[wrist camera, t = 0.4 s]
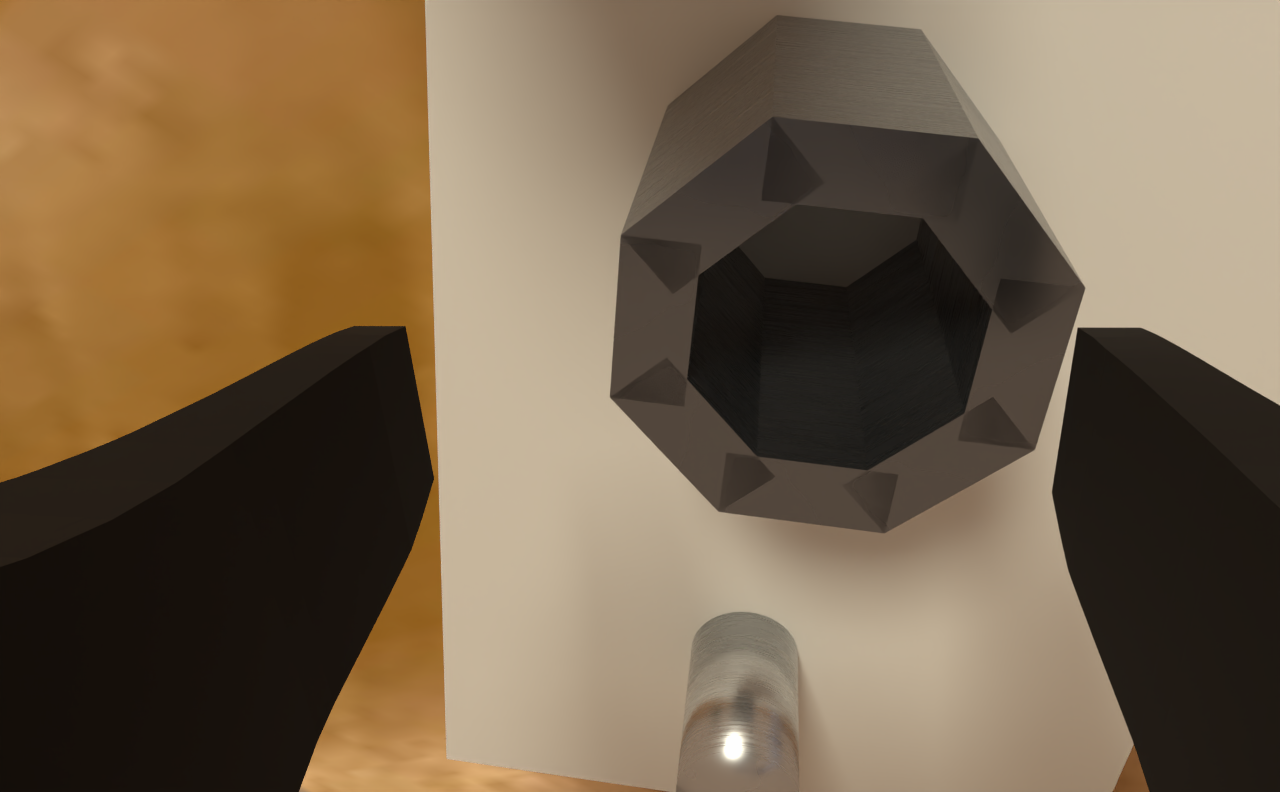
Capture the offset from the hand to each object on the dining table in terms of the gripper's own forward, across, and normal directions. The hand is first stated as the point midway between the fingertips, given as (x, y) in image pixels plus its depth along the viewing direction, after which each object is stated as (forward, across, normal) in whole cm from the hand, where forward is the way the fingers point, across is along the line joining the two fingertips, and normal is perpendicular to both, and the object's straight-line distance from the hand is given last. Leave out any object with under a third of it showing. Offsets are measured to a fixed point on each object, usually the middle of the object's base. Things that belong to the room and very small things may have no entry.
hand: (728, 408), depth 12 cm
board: (+9, -2, +5) cm, 11 cm away
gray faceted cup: (+8, -1, 0) cm, 8 cm away
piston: (+8, 0, +11) cm, 14 cm away
